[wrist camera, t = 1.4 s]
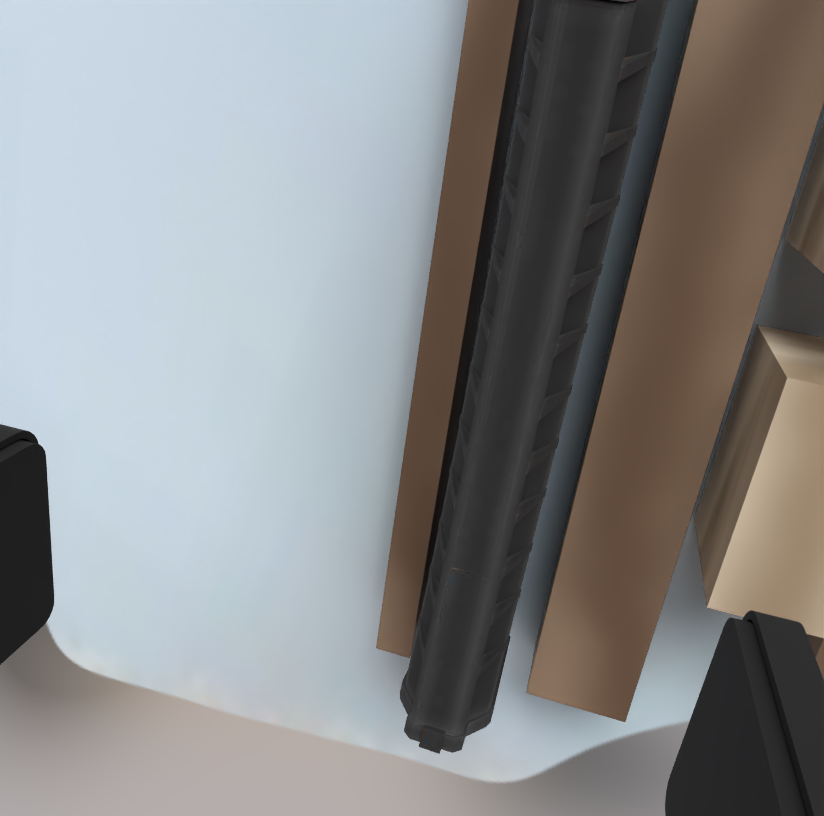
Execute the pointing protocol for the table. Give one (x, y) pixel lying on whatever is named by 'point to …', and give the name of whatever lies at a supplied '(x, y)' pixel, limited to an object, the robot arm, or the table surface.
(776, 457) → the offcut
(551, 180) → the magazine
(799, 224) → the offcut
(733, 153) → the rack
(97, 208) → the table surface
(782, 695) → the robot arm
